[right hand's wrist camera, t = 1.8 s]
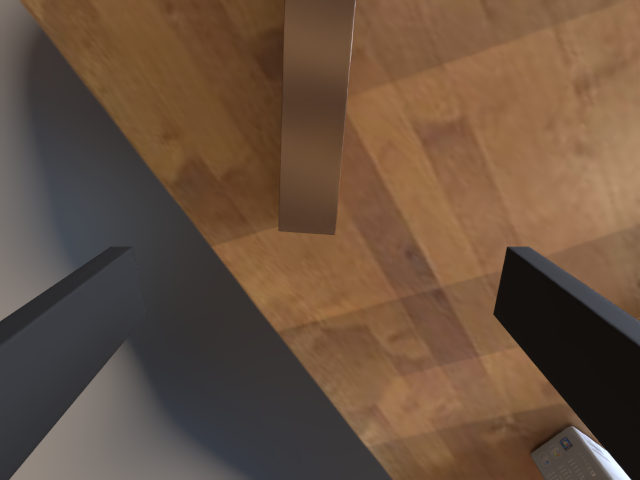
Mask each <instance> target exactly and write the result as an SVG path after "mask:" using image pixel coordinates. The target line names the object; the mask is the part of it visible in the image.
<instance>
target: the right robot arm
mask: <svg viewBox="0 0 640 480" xmlns="http://www.w3.org/2000/svg"><path fill="white" fill-rule="evenodd" d="M493 315H494V316H495V317H496V318H497V319H498V321H499V322H500V323H501V324H502V325H503V327H504V328H505V329H506V330H507V331H508V333H509V334H510V335H511V336H512V337H513V339H514V340H515V341H516V342H517V343H518V345H519V346H520V347H521V348H522V349H523V351H524V352H525V353H526V354H527V355H528V357H529V358H530V359H531V360H532V361H533V363H534V364H535V365H536V366H537V367H538V369H539V370H540V371H541V372H542V373H543V375H544V376H545V377H546V378H547V379H548V381H549V382H550V383H551V384H552V385H553V387H554V388H555V389H556V390H557V391H558V393H559V394H560V395H561V396H562V397H563V399H564V400H565V401H566V402H567V404H568V405H569V406H570V407H571V408H572V410H573V411H574V412H575V413H576V414H577V416H578V417H579V418H580V419H581V420H582V422H583V423H584V424H585V425H586V426H587V428H588V429H589V430H590V431H591V432H592V434H593V435H594V436H595V437H596V438H597V440H598V441H599V442H600V443H601V444H602V446H603V447H604V448H605V449H606V450H607V452H608V453H609V454H610V455H611V456H612V458H613V459H614V460H615V461H616V462H617V464H618V465H619V466H620V467H621V468H622V470H623V471H624V472H625V473H626V474H627V476H628V477H629V478H630V479H631V480H640V321H638V320H637V319H635V318H634V317H632V316H631V315H629V314H628V313H626V312H625V311H624V310H622V309H621V308H619V307H618V306H616V305H615V304H613V303H612V302H610V301H609V300H607V299H606V298H604V297H603V296H601V295H600V294H598V293H597V292H595V291H594V290H592V289H591V288H589V287H588V286H586V285H585V284H583V283H582V282H580V281H579V280H578V279H576V278H575V277H573V276H572V275H570V274H569V273H567V272H566V271H564V270H563V269H561V268H560V267H558V266H557V265H555V264H554V263H552V262H551V261H549V260H548V259H546V258H545V257H543V256H542V255H540V254H539V253H537V252H536V251H535V250H533V249H532V248H530V247H507V250H506V255H505V260H504V265H503V270H502V275H501V280H500V284H499V289H498V294H497V299H496V304H495V309H494V314H493ZM145 316H146V309H145V304H144V299H143V294H142V289H141V284H140V280H139V275H138V270H137V265H136V260H135V255H134V250H133V247H110V248H108V249H107V250H106V251H104V252H103V253H101V254H100V255H98V256H97V257H95V258H94V259H92V260H91V261H89V262H88V263H86V264H85V265H83V266H82V267H80V268H79V269H77V270H76V271H74V272H73V273H71V274H70V275H68V276H67V277H65V278H64V279H62V280H61V281H60V282H58V283H57V284H55V285H54V286H52V287H51V288H49V289H48V290H46V291H45V292H43V293H42V294H40V295H39V296H37V297H36V298H34V299H33V300H31V301H30V302H28V303H27V304H25V305H24V306H22V307H21V308H19V309H18V310H16V311H15V312H14V313H12V314H11V315H9V316H8V317H6V318H5V319H3V320H2V321H0V480H9V479H10V478H11V477H12V476H13V474H14V473H15V472H16V471H17V470H18V468H19V467H20V466H21V465H22V464H23V462H24V461H25V460H26V459H27V458H28V456H29V455H30V454H31V453H32V452H33V450H34V449H35V448H36V447H37V446H38V444H39V443H40V442H41V441H42V440H43V438H44V437H45V436H46V435H47V434H48V432H49V431H50V430H51V429H52V428H53V426H54V425H55V424H56V423H57V422H58V420H59V419H60V418H61V417H62V415H63V414H64V413H65V412H66V411H67V409H68V408H69V407H70V406H71V405H72V404H73V402H74V401H75V400H76V399H77V397H78V396H79V395H80V394H81V393H82V391H83V390H84V389H85V388H86V387H87V385H88V384H89V383H90V382H91V381H92V379H93V378H94V377H95V376H96V375H97V373H98V372H99V371H100V370H101V369H102V367H103V366H104V365H105V364H106V363H107V361H108V360H109V359H110V358H111V357H112V355H113V354H114V353H115V352H116V351H117V349H118V348H119V347H120V346H121V345H122V343H123V342H124V341H125V340H126V339H127V337H128V336H129V335H130V334H131V333H132V331H133V330H134V329H135V328H136V327H137V325H138V324H139V323H140V322H141V321H142V319H143V318H144V317H145Z"/></svg>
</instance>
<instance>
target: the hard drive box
mask: <svg viewBox="0 0 640 480" xmlns="http://www.w3.org/2000/svg"><path fill="white" fill-rule="evenodd" d="M530 455H531V457H532V459H533V460H534V462H535V464H536V466H537V467H538V469H539V471H540V472H541V474H542V476H543V478H544V479H545V480H631V479H630V478H629V477H628V476H627V474H626V473H625V472H624V471H623V470H622V468H621V467H620V466H619V465H618V464H617V462H616V461H615V460H614V459H613V458H612V456H611V455H610V454H609V453H608V452H607V451H606V450H605V449H603V448H602V447H601V446H599V445H598V444H596V443H595V442H594V441H592V440H591V439H590V438H589V437H587V436H586V435H584V434H583V433H581V432H580V431H579V430H577V429H576V428H575V427H573V426H571V427H567V428H566V429H564V430H563V431H562V432H560V433H559V434H557V435H556V436H555V437H553V438H552V439H551V440H549V441H548V442H546V443H545V444H544V445H542V446H541V447H539V448H538V449H537V450H535V451H534V452H532V453H531V454H530Z"/></svg>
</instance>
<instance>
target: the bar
mask: <svg viewBox="0 0 640 480" xmlns="http://www.w3.org/2000/svg"><path fill="white" fill-rule="evenodd" d="M355 3H356V0H285V8H284V45H283V82H282V120H281V157H280V194H279V231H284V232H299V233H315V234H330V235H335V231H336V220H337V208H338V197H339V186H340V174H341V163H342V151H343V140H344V129H345V117H346V106H347V94H348V83H349V72H350V60H351V49H352V37H353V26H354V15H355Z"/></svg>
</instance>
